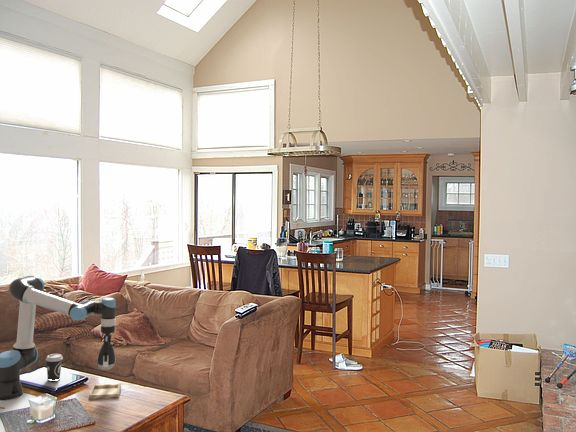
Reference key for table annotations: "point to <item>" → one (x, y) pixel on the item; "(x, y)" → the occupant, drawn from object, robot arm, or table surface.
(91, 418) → the table surface
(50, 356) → the coffee cup
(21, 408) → the table surface
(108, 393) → the beige flat square tray
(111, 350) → the pump dispenser
